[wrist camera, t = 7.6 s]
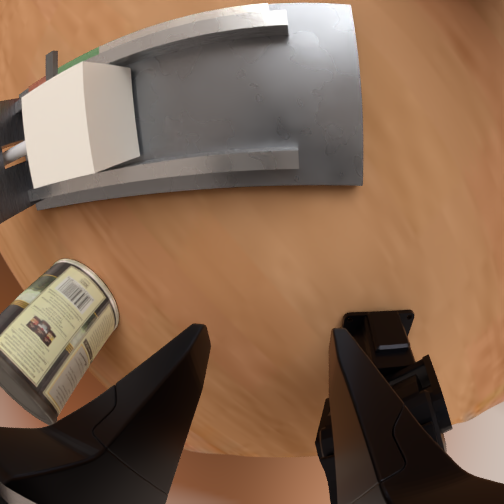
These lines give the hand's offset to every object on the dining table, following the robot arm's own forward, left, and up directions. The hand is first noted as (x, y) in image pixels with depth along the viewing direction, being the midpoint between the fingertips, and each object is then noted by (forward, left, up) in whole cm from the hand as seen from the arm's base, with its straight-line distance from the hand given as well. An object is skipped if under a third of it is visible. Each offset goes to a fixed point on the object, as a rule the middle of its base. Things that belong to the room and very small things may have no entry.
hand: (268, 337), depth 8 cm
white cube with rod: (+9, +17, -10) cm, 22 cm away
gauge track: (+8, +9, -12) cm, 17 cm away
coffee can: (-9, +22, -12) cm, 27 cm away
